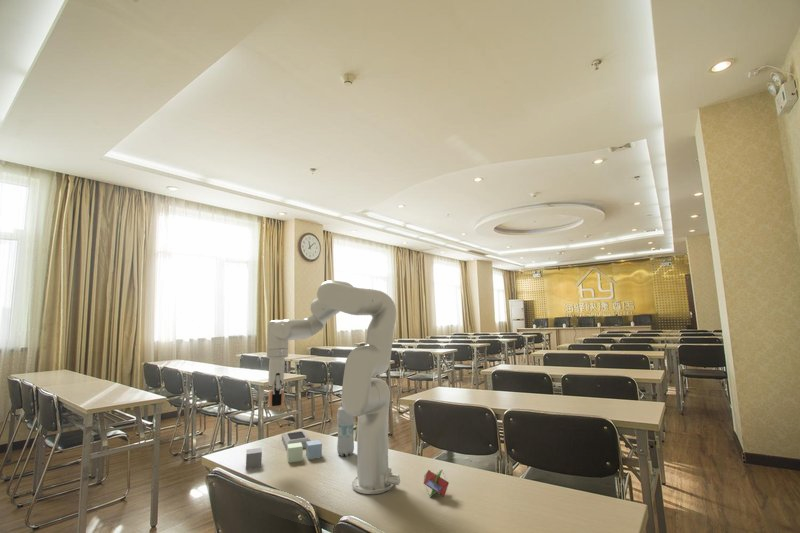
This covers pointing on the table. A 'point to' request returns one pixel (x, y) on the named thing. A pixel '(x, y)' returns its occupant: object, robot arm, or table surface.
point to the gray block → (253, 458)
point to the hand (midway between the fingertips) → (276, 403)
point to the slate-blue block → (313, 449)
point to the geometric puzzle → (435, 482)
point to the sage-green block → (294, 452)
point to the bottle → (345, 432)
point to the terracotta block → (271, 398)
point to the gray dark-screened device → (295, 438)
